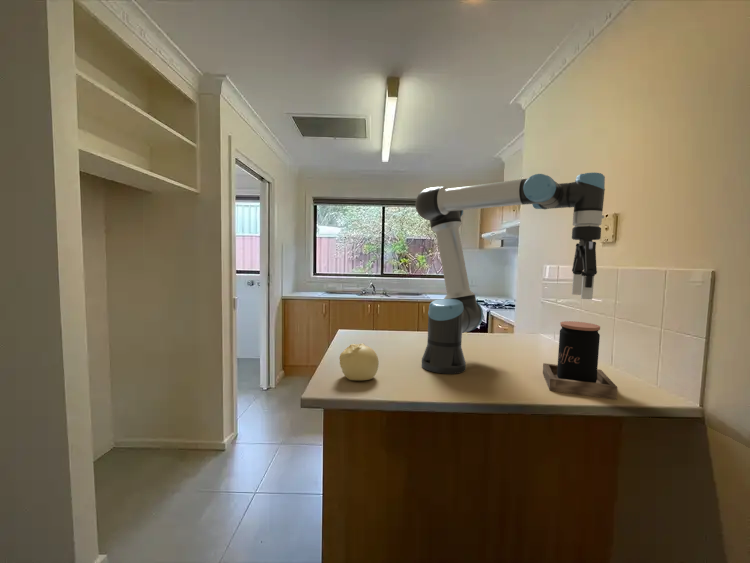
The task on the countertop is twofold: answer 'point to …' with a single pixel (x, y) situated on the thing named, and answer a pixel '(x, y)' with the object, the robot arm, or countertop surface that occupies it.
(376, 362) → the sculpture
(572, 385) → the wooden tray
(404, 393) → the countertop surface
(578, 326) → the coffee jar
